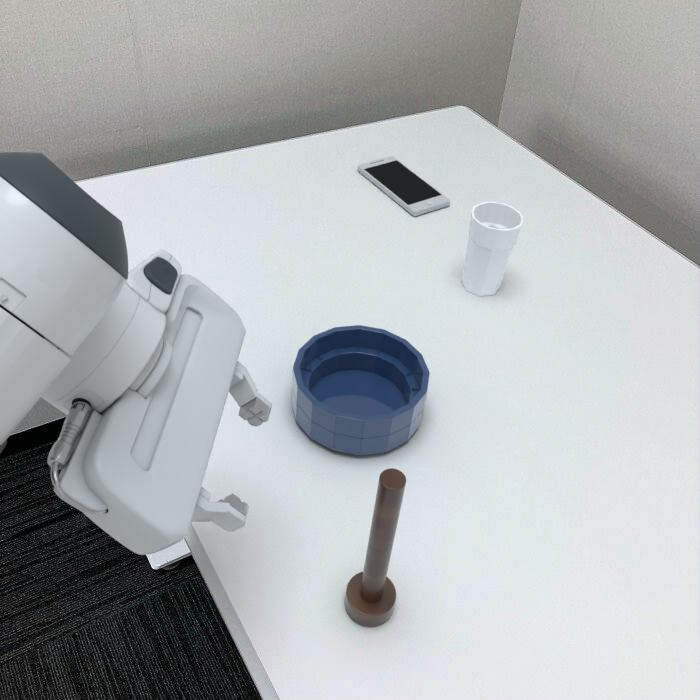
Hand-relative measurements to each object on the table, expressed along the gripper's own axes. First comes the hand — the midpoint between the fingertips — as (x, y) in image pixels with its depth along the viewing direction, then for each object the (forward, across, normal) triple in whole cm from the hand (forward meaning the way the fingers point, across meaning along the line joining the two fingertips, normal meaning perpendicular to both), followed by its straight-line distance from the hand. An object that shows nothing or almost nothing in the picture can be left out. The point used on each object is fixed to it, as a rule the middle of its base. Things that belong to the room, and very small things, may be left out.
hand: (253, 465), depth 56 cm
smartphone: (+21, +73, +7) cm, 76 cm away
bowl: (+18, +24, +9) cm, 32 cm away
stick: (+20, +1, +6) cm, 21 cm away
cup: (+29, +50, -2) cm, 58 cm away
